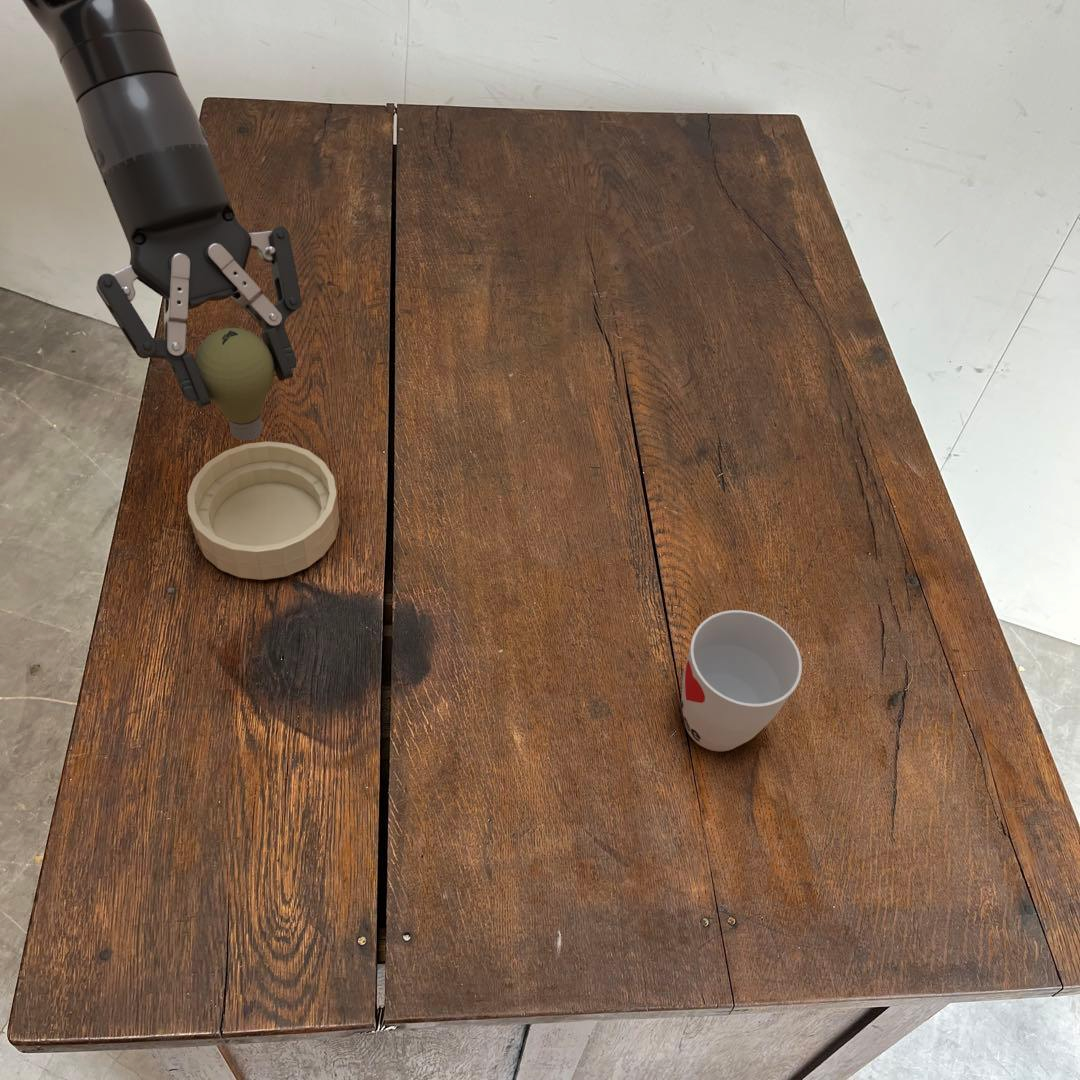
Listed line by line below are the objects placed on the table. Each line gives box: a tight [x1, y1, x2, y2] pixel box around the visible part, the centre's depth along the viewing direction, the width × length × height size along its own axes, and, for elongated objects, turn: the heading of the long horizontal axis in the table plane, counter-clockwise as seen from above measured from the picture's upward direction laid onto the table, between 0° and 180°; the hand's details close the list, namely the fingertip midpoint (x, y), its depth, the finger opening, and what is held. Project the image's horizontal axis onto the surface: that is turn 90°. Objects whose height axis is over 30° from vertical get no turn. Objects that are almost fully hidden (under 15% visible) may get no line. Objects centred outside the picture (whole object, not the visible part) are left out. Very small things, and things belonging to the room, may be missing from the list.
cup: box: [680, 609, 803, 752], centre depth 78 cm, size 8×8×10 cm
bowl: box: [186, 441, 341, 581], centre depth 89 cm, size 12×12×4 cm
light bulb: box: [194, 327, 275, 442], centre depth 76 cm, size 6×6×10 cm
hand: (245, 391), depth 75 cm, fingers closed on light bulb, 5 cm apart
